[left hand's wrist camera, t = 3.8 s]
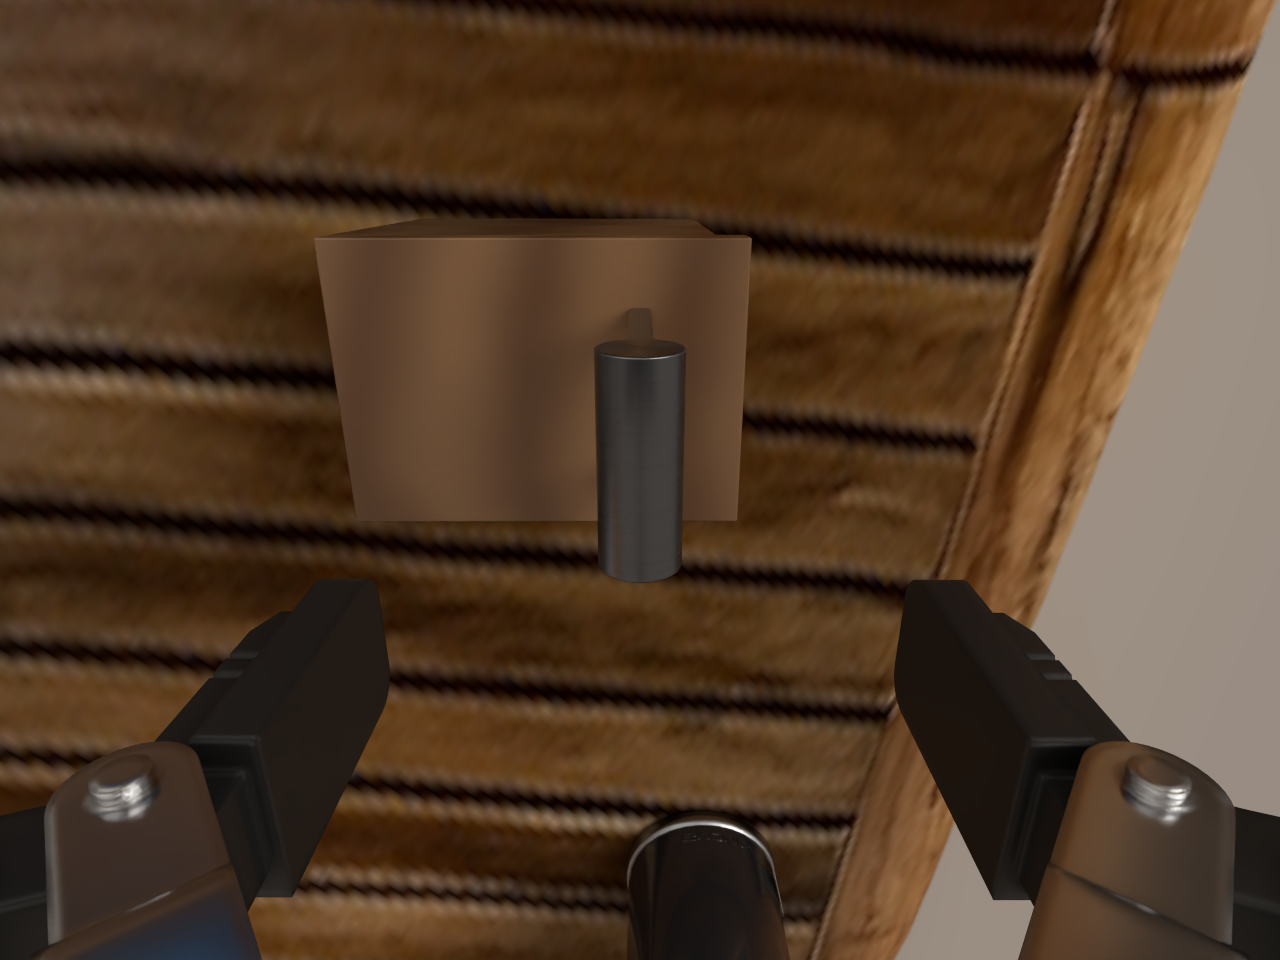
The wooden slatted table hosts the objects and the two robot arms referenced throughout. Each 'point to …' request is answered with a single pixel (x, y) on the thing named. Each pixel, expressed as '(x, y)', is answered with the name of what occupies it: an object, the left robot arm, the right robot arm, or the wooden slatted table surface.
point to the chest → (538, 227)
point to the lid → (543, 381)
